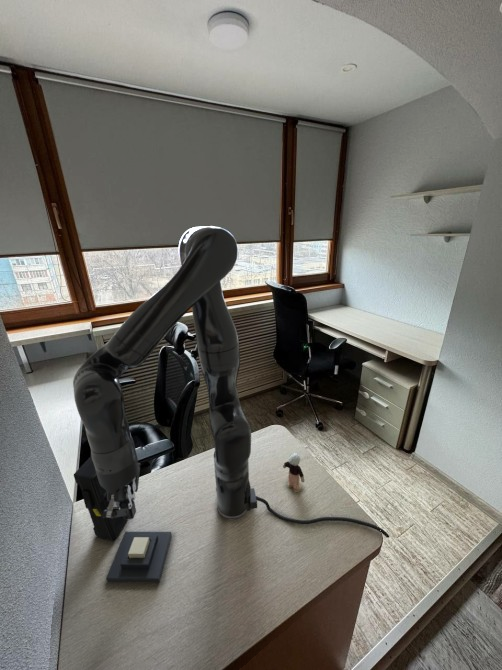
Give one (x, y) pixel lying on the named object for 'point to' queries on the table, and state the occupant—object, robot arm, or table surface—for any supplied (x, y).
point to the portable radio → (97, 502)
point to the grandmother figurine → (294, 472)
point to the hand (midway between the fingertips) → (130, 515)
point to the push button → (140, 559)
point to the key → (139, 547)
